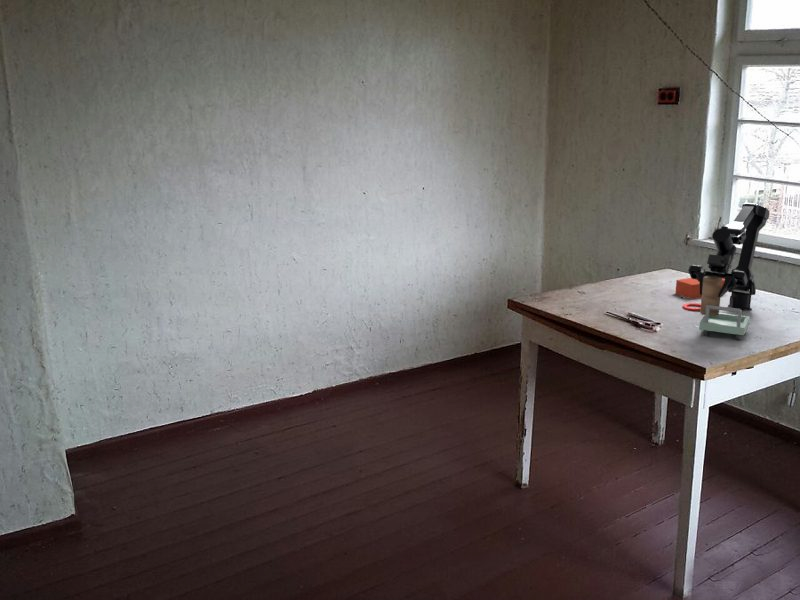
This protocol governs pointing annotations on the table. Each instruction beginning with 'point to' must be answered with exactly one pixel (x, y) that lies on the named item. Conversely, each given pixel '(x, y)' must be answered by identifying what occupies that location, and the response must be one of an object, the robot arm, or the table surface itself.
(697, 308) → the tow hook
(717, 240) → the robot arm
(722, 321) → the parts cart
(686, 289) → the brick
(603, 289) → the table surface
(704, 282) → the brown cylinder
